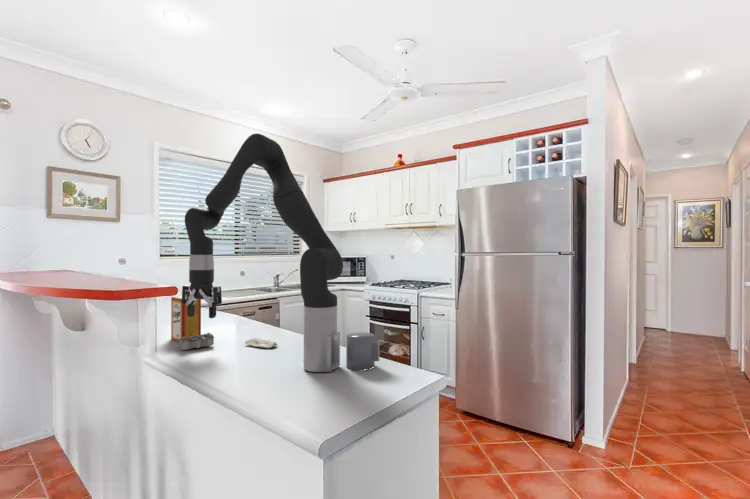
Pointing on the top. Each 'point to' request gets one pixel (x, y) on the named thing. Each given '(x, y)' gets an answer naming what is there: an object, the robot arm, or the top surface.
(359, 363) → the charcoal mug
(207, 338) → the egg carton
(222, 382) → the top surface
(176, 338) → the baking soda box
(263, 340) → the pale elongated rock
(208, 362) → the top surface
